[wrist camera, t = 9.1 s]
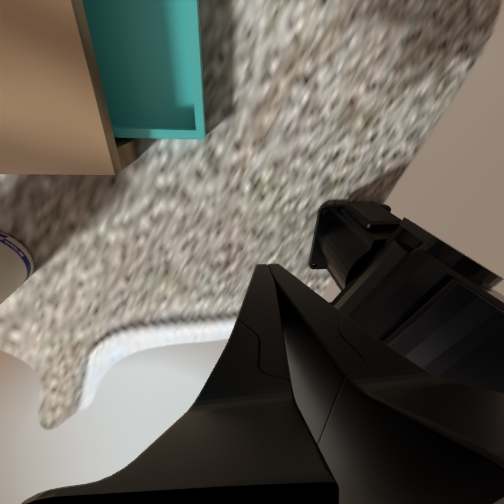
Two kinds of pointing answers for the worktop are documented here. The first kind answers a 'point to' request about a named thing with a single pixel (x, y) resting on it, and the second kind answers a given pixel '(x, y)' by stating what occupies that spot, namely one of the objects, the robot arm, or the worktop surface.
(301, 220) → the worktop surface
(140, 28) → the tray
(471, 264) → the robot arm
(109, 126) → the wooden drawer box
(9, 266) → the energy drink
